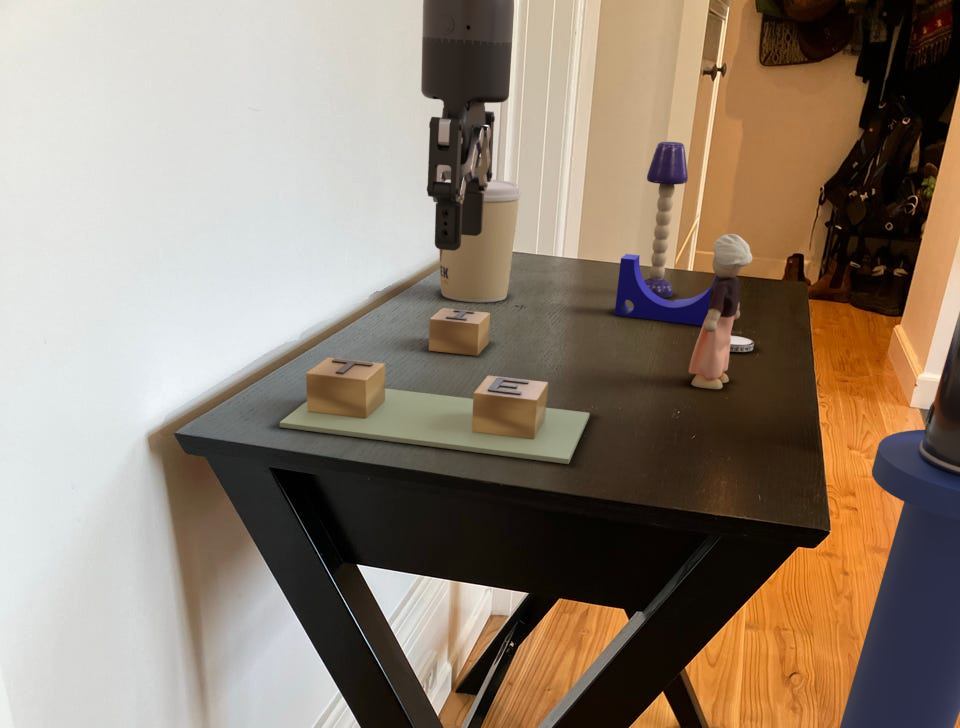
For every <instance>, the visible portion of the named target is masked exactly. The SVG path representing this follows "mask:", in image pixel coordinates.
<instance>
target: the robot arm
mask: <svg viewBox="0 0 960 728" xmlns="http://www.w3.org/2000/svg"><path fill="white" fill-rule="evenodd" d="M514 16H515V0H422V37H421V39H422V40H421V81H420V82H421V85H420V86H421V87H420V90H421V94H422V95H423V96H424V97H425V98H427V99H431V100H440V101H441V102H442V104H443V105H442V106H443V107H442V114H441V116H431V117H430V119H429V125H428V128H429V140H428V162H427V163H428V166H427V169H428V170H427V185H426V192H427V197H431V198H432V201H433V203H435V220H434V246H435V248H436V249H438V250H439V249H442V250H452V251H455V250H457V249H458V248H460V246H461V234H462V235H471V236H477V235H479V234H480V233H481V232H482V222H483V203H484V193H482V191H486V189H487V187H488V182H490V181H491V180H492V179H493V153H494V151H493V149H494V131H495V130H494V129H495V128H494V127H495V122H496V121H495V120H496V116H495V112H494V111H492V110H486V105H485V104H500V103H504V102H506V101H507V100H508V99H509V96H510V84H511V69H512V68H511V67H512V51H513V34H514V18H515V17H514ZM446 180H451V183H449V182H445V181H446ZM926 423H927V424H926ZM925 424H926V425H925V428H924V430H925V433H924V437H923V440H922V441H921V443H920V447H919V450H918V453H919V455H920V457H921V458H922V459H923V460H924V461H925V462H927V463H928V464H930V465H932V466H934V467H936V468H938V469H940V470H943V471H945V472H947V473H950V474H954V475H957V476H960V311H959V312H958V316H957V320H956V323H955V326H954V330H953V334H952V337H951V339H950V344H949V346H948V350H947V355H946V357H945V362H944V364H943V367H942V372H941V375H940V378H939V381H938V386H937V389H936V392H935V396H934V399H933V401H932V403H931V404H930V406H929V408H928V413H927V416H926V420H925Z"/></svg>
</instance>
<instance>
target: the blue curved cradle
mask: <svg viewBox="0 0 960 728" xmlns="http://www.w3.org/2000/svg"><path fill="white" fill-rule="evenodd" d="M640 256H641V255H640V254H631V253H625V254H624V255H623V256H622V257H620V261H619V262H620V263H619V271H618V272H619V273H618V280H617V289H616V297H615V308H614V315H615V316H621V317H622V316H623V317H630V318H638V319H645V320H653V321H654V320H655V321H663V322H670V323H678V324H685V325H686V324H687V325H695V326H701V327H702V326H703V323H704V321H705V318H706V316H707V314H708V309H709V301H710V293H711V289H712V286H713V285H714V283H715V282H716V280H717V278H718V276H717V275H716V274H715V278H714V280H713V283H712V285H711V286H710V287H709V288H707V289H706V290H705V291H703V292H702V293H700V294H698V295H696V296H693V297H690V298H689V297H688V298H684V299H683V298H682V299H678V298H676V299H675V300H674V301H671V300H667V299H666V298H660V297H659V296H657V295H656V294H654V293H653V292H652V291H651V290H650V289H649V288H648V286H647V285H646V283H645V282H644V280H645V279H644V278H643V275H642V271H641V266H640V265H641V264H640ZM626 301H630V302H631V303H632V306H633V308H631V307H629V306H628V305H627V304H626V303H627V302H626Z"/></svg>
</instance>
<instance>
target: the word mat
mask: <svg viewBox="0 0 960 728" xmlns="http://www.w3.org/2000/svg"><path fill="white" fill-rule="evenodd" d="M472 415H473V398H468V397H460V396H451V395H444V394H443V395H442V394H434V393H427V392H418V391H410V390H402V389H392V388H385V401H384V402H383V403H382V404H381V405H380V406H379V407H378V408H377V409H376V410H375V411H374V412H372V413H371V414H370V415H369V416H368V417H367V418H358V417H350V416H342V415H334V414H326V413H318V412H310V411H308V408H307V400H306V401H305V402H303V403H302V404H301V405H299V406H298V407H297V408H296V409H294V410H293V411H292V412H291V413H290V414H288V415H287V416H286V417H284V418H283V419H282V420H280V421H279V428H284V429H291V430H297V431H298V430H299V431H307V432H314V433H323V434H324V433H325V434H330V435H336V436H337V435H338V436H347V437H355V438H362V439H367V440H368V439H370V440H377V441H384V442H392V443H400V444H408V445H416V446H425V447H431V448H439V449H440V448H441V449H448V450H455V451H456V450H457V451H463V452H470V453H478V454H487V455H494V456H502V457H509V458H518V459H525V460H534V461H540V462H549V463H558V464H564V465H569V464H570V462H571V459H572V457H573V455H574V453H575V450H576V448H577V446H578V443H579V441H580V439H581V437H582V434H583V432H584V430H585V428H586V426H587V423H588V420H589V419H590V415H591V413H590V412H588V411H577V410H569V409H562V408H555V407H554V408H552V407H546V416H545V421H544V422H543V424H542V426H541V428H540V429H539V431H538V433H537V435H536V437H535V438H534V439H528V438H519V437H511V436H503V435H495V434H487V433H479V432H472Z"/></svg>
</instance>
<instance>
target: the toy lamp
mask: <svg viewBox="0 0 960 728" xmlns="http://www.w3.org/2000/svg"><path fill="white" fill-rule="evenodd" d="M687 166H688V165H687V157H686V149H685V145H684V143H682V142H677V141H660V142H659V143H657V145H656V148H655V151H654V154H653V156H652V160H651V162H650V165H649V168H648V172H647V175H646V180H647V182H649V183H652V184H659V186H658V196H659V197H658V199H657V203H656V207H657V212H656V215H655V223H656V224H655V227H654V231H653V235H654V240H653V242H652V251H653V252H652V255H651V259H650V260H651V267H650V269H649V277H648V278H646V279H643V280H644V282H645V283H646V285H647V286H648V288H649V289H650V290H651V291H652V292H653V293H654V294H656V295H657V296H659V297H660V298H662V299H669V298H671V297H673V296H674V292H673V287H672V284H671V283H670V281H668V280H667V279H665V278H664V277H665V274H666V268H665V264H666V262H667V251H668V248H669V241H668V238H669V236H670V233H671V229H670V228H671V227H670V224H671V221H672V212H671V211H672V209H673V205H674V199H673V196H674V194H675V188H676V187H675V185H684V184H686V183H687V182H688V180H689V179H688V177H689V176H688V175H689V174H688V167H687Z"/></svg>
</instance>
